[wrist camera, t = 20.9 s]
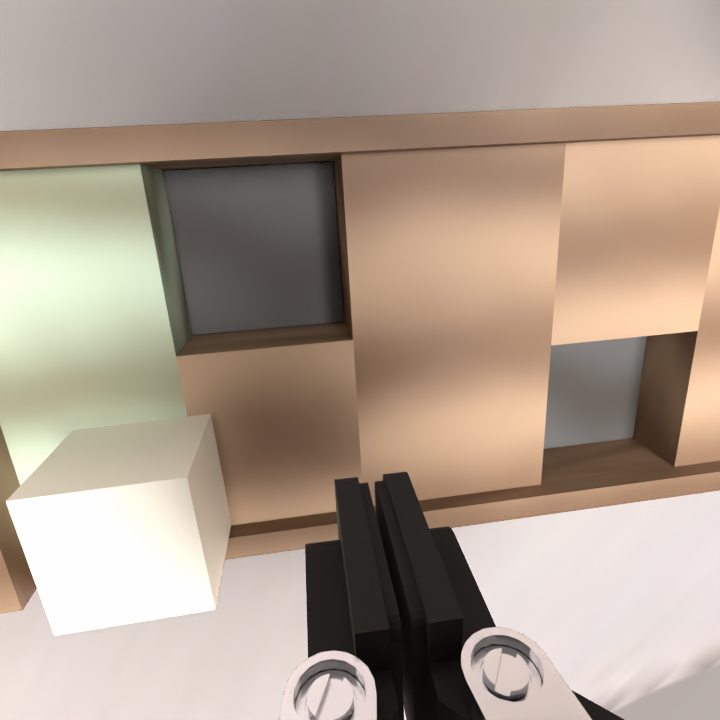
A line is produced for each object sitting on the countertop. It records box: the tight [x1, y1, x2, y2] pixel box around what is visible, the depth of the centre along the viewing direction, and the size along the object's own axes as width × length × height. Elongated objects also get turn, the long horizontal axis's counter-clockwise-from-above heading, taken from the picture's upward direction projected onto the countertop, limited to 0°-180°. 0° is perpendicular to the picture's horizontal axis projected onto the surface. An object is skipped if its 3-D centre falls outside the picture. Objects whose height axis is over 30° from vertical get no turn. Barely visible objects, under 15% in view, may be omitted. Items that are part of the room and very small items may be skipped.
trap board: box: [0, 102, 720, 614], centre depth 19 cm, size 16×35×5 cm, turn 94°
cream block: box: [6, 414, 231, 636], centre depth 17 cm, size 5×5×4 cm
